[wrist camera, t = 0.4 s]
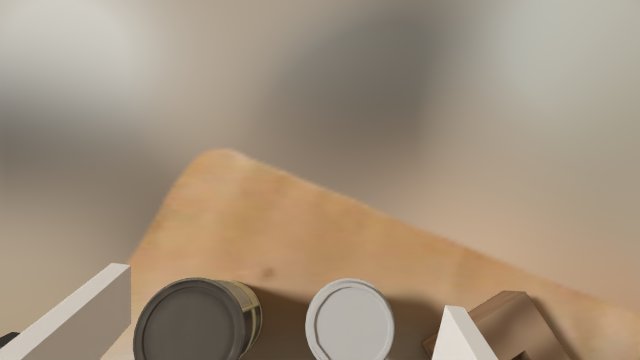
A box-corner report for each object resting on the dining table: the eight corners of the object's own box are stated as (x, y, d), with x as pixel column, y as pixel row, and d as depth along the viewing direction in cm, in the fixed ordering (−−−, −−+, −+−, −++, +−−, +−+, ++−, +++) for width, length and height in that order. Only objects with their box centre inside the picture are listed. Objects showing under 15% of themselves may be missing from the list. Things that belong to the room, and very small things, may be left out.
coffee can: (273, 342, 44) (258, 369, 30) (197, 375, 42) (145, 418, 29) (250, 267, 46) (226, 261, 33) (177, 295, 45) (122, 301, 32)
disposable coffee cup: (300, 286, 46) (298, 287, 35) (366, 273, 47) (386, 270, 35) (312, 361, 43) (313, 389, 32) (382, 346, 44) (408, 368, 33)
